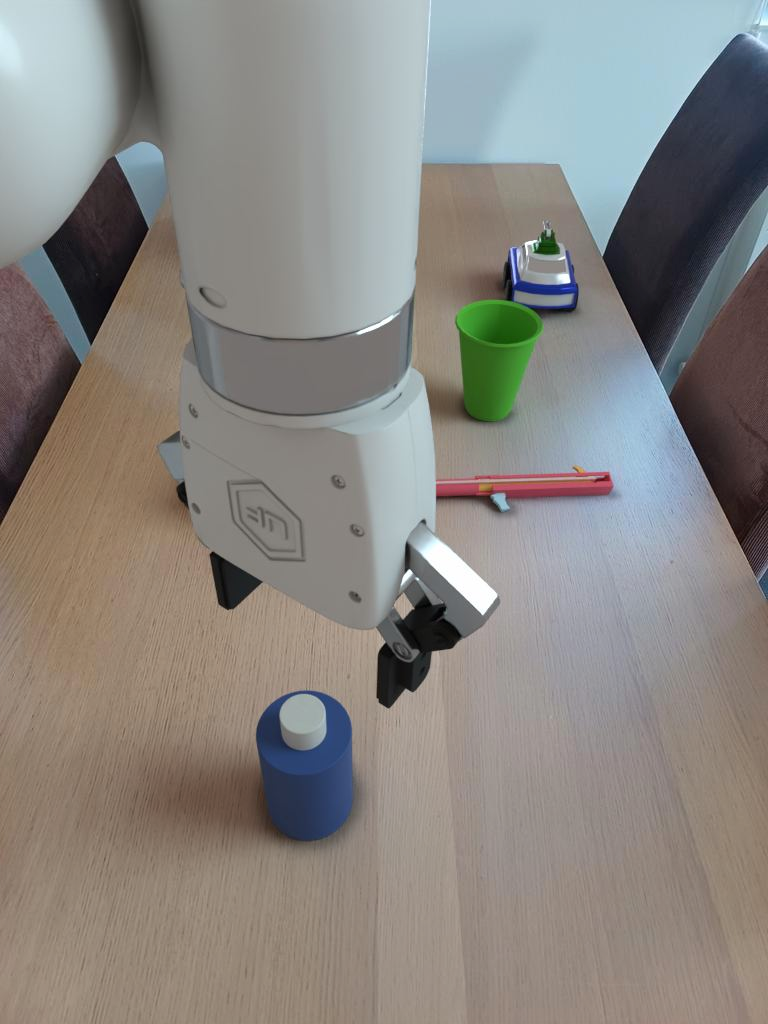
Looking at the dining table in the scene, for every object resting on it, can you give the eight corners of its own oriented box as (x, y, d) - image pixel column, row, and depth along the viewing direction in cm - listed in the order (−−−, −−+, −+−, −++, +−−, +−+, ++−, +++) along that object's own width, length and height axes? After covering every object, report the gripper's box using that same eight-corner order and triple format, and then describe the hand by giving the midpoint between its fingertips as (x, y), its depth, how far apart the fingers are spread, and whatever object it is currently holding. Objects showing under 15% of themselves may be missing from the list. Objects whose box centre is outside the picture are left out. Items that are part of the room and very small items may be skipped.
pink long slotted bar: (611, 512, 79) (603, 471, 82) (618, 501, 78) (609, 460, 80) (369, 520, 78) (367, 478, 80) (369, 510, 76) (367, 467, 78)
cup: (444, 428, 87) (452, 340, 80) (450, 381, 94) (458, 295, 86) (527, 437, 86) (543, 349, 79) (528, 388, 93) (543, 303, 85)
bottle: (319, 858, 53) (312, 776, 46) (249, 810, 56) (232, 725, 48) (369, 787, 57) (370, 701, 50) (301, 745, 59) (293, 656, 52)
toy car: (567, 277, 113) (579, 211, 106) (577, 322, 104) (591, 253, 97) (500, 274, 113) (509, 208, 106) (505, 319, 104) (514, 250, 98)
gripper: (49, 297, 29) (138, 603, 41) (465, 488, 22) (426, 790, 34) (197, 225, 33) (238, 520, 45) (580, 365, 26) (511, 669, 38)
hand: (319, 635), depth 39 cm, fingers open, 9 cm apart
